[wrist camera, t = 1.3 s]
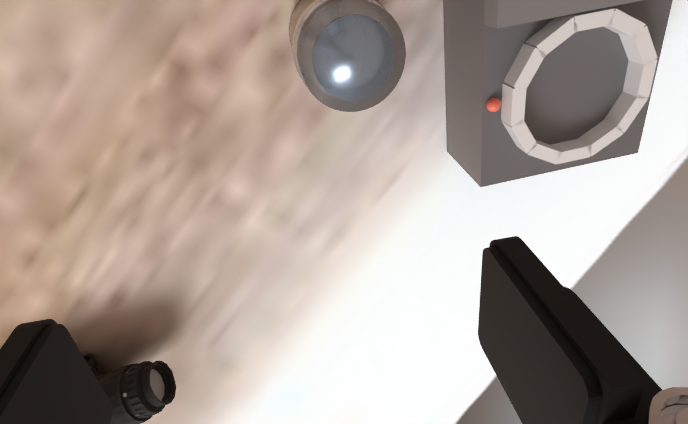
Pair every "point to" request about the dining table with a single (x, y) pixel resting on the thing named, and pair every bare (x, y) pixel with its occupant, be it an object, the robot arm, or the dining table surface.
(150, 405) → the night vision scope
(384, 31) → the lens
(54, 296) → the dining table surface
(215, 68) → the dining table surface
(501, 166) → the grey ring-socket block
